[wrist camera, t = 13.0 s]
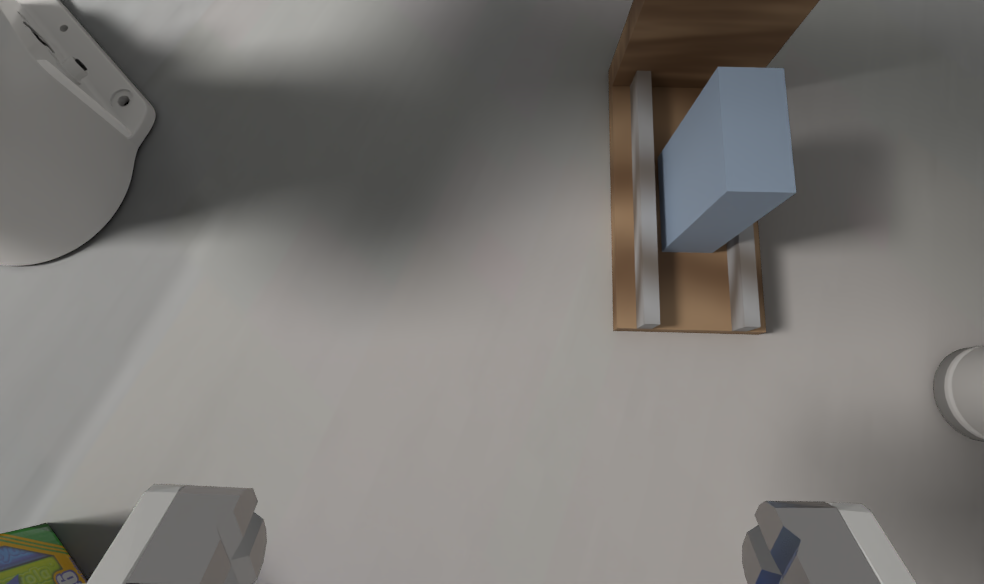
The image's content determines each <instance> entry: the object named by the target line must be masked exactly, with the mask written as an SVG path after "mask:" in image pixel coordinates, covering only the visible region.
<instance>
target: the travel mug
mask: <svg viewBox="0 0 984 584" xmlns="http://www.w3.org/2000/svg"><path fill="white" fill-rule="evenodd" d="M933 390H934V398H935V401H936V404H937V407H938V408H939V410H940V412H941V414H942V416H943V417H944V418H945V419H946V421H947V422H948V423H949V424H950V425H951V426H952V427H953V428H954V429H955V430H957V431H958V432H960V433H961V434H963V435H964V436H967V437H969V438H971V439H974V440H978V441H983V442H984V346H978V347H971V348H965V349H960V350H957V351H955V352H953V353H951V354H950V355H948V356H947V357H946V358H945V359H944V360H943V361H942V362H941V363H940V365H939V367H938V369H937V371H936V373H935V377H934V384H933Z"/></svg>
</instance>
